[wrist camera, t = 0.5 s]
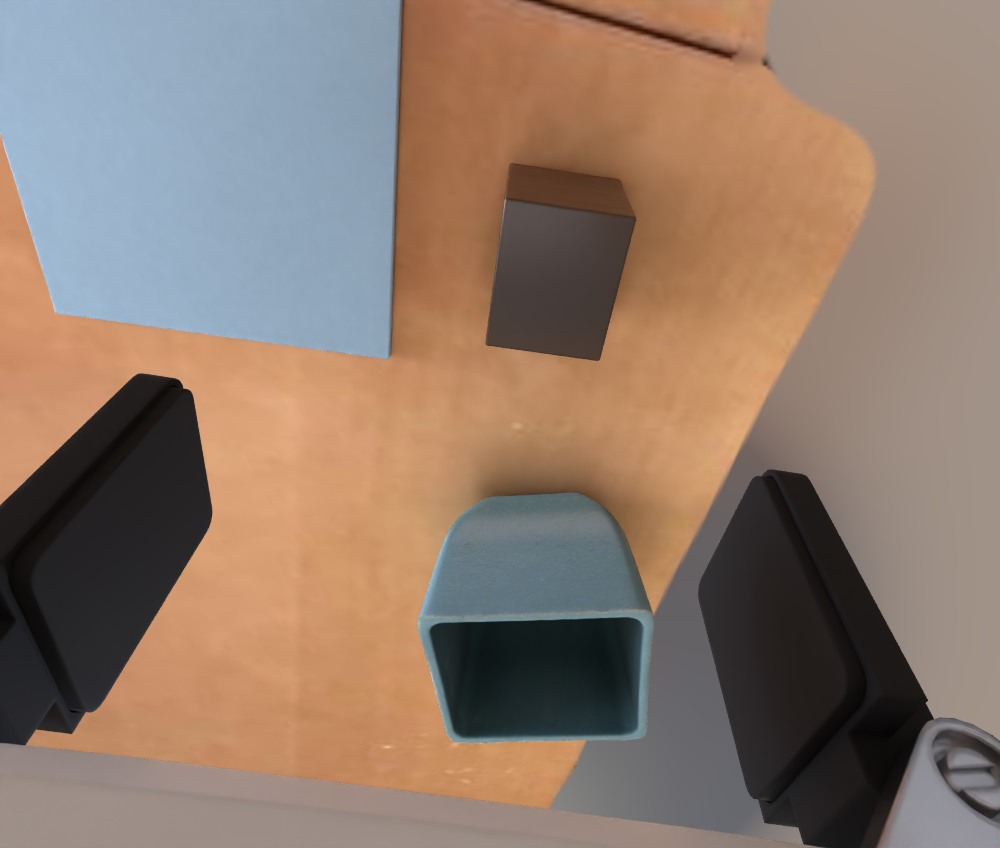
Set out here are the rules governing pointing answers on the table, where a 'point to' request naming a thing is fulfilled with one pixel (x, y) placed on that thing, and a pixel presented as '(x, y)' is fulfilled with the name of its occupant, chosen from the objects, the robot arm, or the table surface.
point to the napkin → (210, 162)
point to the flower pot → (538, 624)
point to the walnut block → (558, 262)
